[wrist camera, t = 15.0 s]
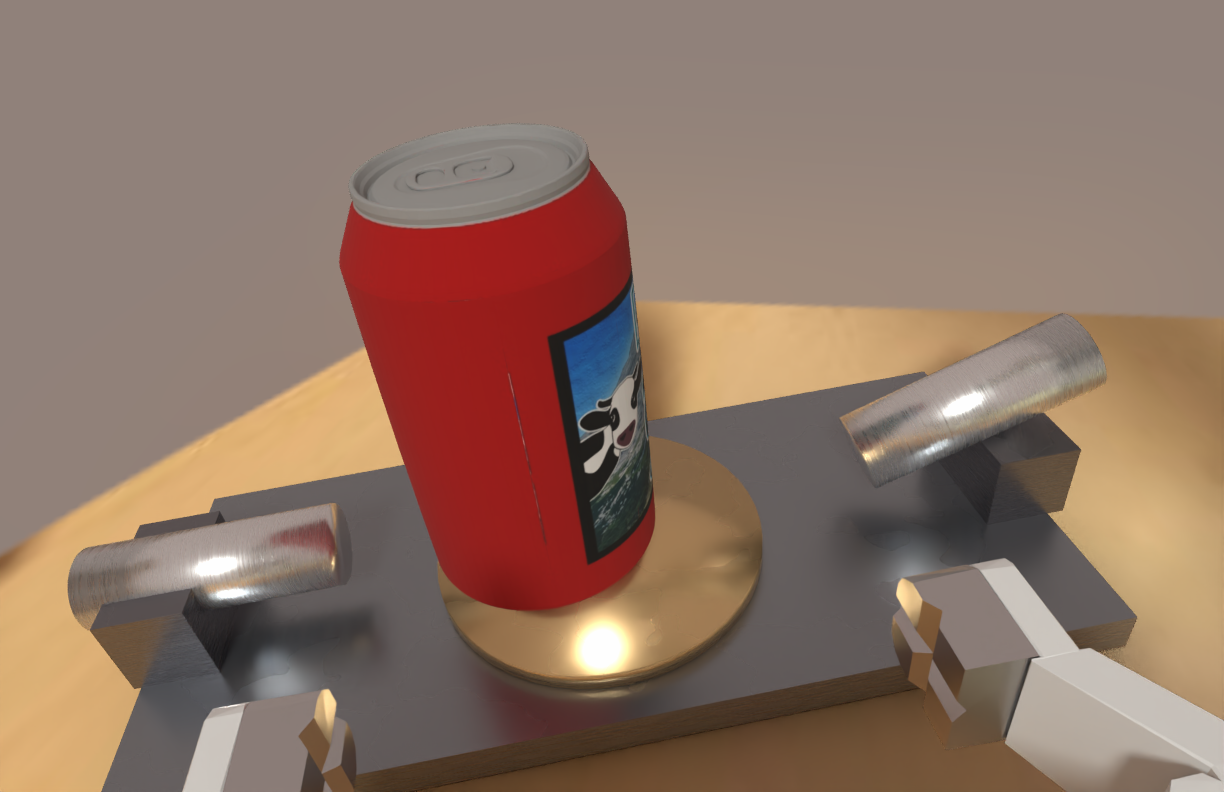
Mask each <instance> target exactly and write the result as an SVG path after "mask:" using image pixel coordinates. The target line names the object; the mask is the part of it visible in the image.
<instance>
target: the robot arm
mask: <svg viewBox="0 0 1224 792" xmlns="http://www.w3.org/2000/svg"><path fill="white" fill-rule="evenodd" d="M896 596H897V598H898V599H899V601H900V603H901V605H902V607H901V608H900V609H899V610H898V611H897V612H896V613H895V614H894V615H893V622H892V637H893V643H894V649H895V652H896V655H897V657H898V660H899V663H900V665H901V667H902V669H903V671H904V673H905V675H906V677H907V679H908V680H909V681H910V682H912V683H913V684H915V685H916V686H918V687H919V688H921V689H922V690H924V691H925V692H926V693H925V698H924V704H923V709H924V711H925V713H926V715H927V717H928V719H929V720H930V722H931V724H932V726H933V728H934V730H935V732H936V733H937V735H938V737H939V739H940V741H941V743H942V745H943V746H944V748H945V750H950V749H956V748H962V747H968V746H973V745H979V744H985V743H990V742H996V741H1002V740H1006V741H1005V744H1006V745H1008V746H1009V747H1010V748H1011V749H1013V750H1014V751H1015V752H1017V753H1018V754H1019V755H1020V756H1022V757H1023V758H1024V759H1025V760H1027V761H1028V762H1029V763H1031V764H1032V765H1033V766H1034V767H1036V768H1037V769H1038V770H1040V771H1041V772H1042V773H1043V774H1045V775H1046V776H1047V777H1048V778H1050V779H1051V780H1052V781H1054V782H1055V783H1056V784H1057V785H1059V786H1060V787H1061V788H1062V789H1064V790H1065V791H1066V792H1224V720H1222V719H1220V718H1218V717H1216V716H1215V715H1213V714H1211V713H1209V712H1207V711H1205V710H1203V709H1202V708H1200V707H1198V706H1196V705H1194V704H1192V703H1191V702H1189V701H1187V700H1185V699H1183V698H1181V697H1180V696H1178V695H1176V694H1174V693H1172V692H1170V691H1169V690H1167V689H1165V688H1163V687H1161V686H1159V685H1158V684H1156V683H1154V682H1152V681H1150V680H1148V679H1147V678H1145V677H1143V676H1141V675H1139V674H1137V673H1135V672H1134V671H1132V670H1130V669H1128V668H1126V667H1124V666H1123V665H1121V664H1119V663H1117V662H1115V661H1113V660H1112V659H1110V658H1108V657H1106V656H1104V655H1102V654H1101V653H1099V652H1097V651H1095V650H1093V649H1091V648H1085V649H1079V648H1078V647H1077V645H1076V644H1075V643H1074V641H1073V640H1072V639H1071V638H1070V636H1069V635H1068V634H1067V632H1066V631H1065V630H1064V629H1063V627H1062V626H1061V625H1060V623H1059V622H1058V621H1057V620H1056V618H1055V617H1054V616H1053V614H1052V613H1051V612H1050V611H1049V609H1048V608H1047V607H1046V605H1045V604H1044V603H1043V601H1042V600H1041V599H1040V598H1039V596H1038V595H1037V594H1036V592H1035V591H1034V590H1033V589H1032V587H1031V586H1030V585H1029V583H1028V582H1027V581H1026V580H1025V578H1024V577H1023V576H1022V574H1021V573H1020V572H1019V571H1018V569H1017V568H1016V567H1015V565H1014V564H1013V563H1012V562H1010V561H1009V560H1007V559H1005V558H1003V559H996V560H991V561H986V562H981V563H976V564H971V565H961V566H957V567H952V568H947V569H942V570H937V571H932V572H928V573H923V574H918V575H913V576H908V577H903V578H902V579H901V581H900V582H899V583H898V588H897V593H896ZM336 704H337V702H336V701H335V699H334V697H333V696H332V694H331V692H330V691H329V689H325V690H319V691H313V692H307V693H301V694H295V695H289V696H283V697H277V698H271V699H265V700H259V701H253V702H247V703H241V704H236V705H230V706H225V707H220V708H214V709H212V711H211V712H210V714H209V715H208V717H207V718H206V719H205V721H204V723H203V726H202V729H201V733H200V736H199V739H198V742H197V746H196V749H195V752H194V755H193V759H192V762H191V765H190V768H189V772H188V775H187V778H186V781H185V785H184V788H183V791H182V792H354V790H355V781H356V772H357V765H356V747H355V743H354V739H353V735H352V732H351V730H350V728H349V726H348V724H347V722H346V721H344V720H342V719H339V718H337V717H335V711H336Z"/></svg>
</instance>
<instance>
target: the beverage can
mask: <svg viewBox="0 0 1224 792" xmlns="http://www.w3.org/2000/svg"><path fill="white" fill-rule="evenodd" d="M348 187H349V192H350V196H351V199H352V203H351V206H350V210H349V215H348V219H347V223H346V228H345V232H344V237H343V241H342V246H341V251H340V261H339V263H340V269H341V272H342V275H343V279H344V282H345V285H346V288H347V291H348V294H349V297H350V300H351V304H352V307H353V310H354V313H355V316H356V319H357V322H358V325H359V328H360V331H361V334H362V338H363V341H364V344H365V347H366V350H367V353H368V356H369V360H370V363H371V366H372V369H373V372H374V375H375V378H376V381H377V384H378V387H379V390H380V393H381V396H382V399H383V402H384V405H385V408H386V411H387V414H388V417H389V420H390V423H391V426H392V429H393V432H394V435H395V438H396V441H397V444H398V447H399V450H400V452H401V455H402V458H403V461H404V464H405V467H406V470H407V473H408V476H409V479H410V482H411V484H412V487H413V490H414V493H415V496H416V499H417V502H418V505H419V508H420V511H421V513H422V516H423V519H424V522H425V525H426V527H427V530H428V533H429V536H430V539H431V541H432V544H433V547H434V550H435V553H436V556H437V558H438V561H439V564H440V566H441V568H442V570H443V572H444V573H445V575H446V576H447V578H448V579H449V580H450V581H451V582H452V584H453V585H455V586H456V587H457V588H458V589H459V590H460V591H462V592H463V593H464V594H466V595H467V596H469V597H471V598H473V599H475V600H477V601H479V602H481V603H484V604H487V605H490V606H493V607H497V608H502V609H508V610H517V611H538V610H548V609H554V608H559V607H563V606H567V605H571V604H574V603H577V602H580V601H583V600H585V599H588V598H590V597H592V596H594V595H596V594H598V593H600V592H602V591H604V590H605V589H607V588H609V587H610V586H612V585H613V584H615V583H616V582H618V581H619V580H620V579H621V578H623V577H624V576H625V575H626V574H627V573H628V572H629V571H630V570H631V569H632V568H633V567H634V566H635V565H636V564H637V563H638V561H639V560H640V559H641V557H642V556H643V554H644V553H645V551H646V549H647V547H648V545H649V543H650V540H651V538H652V535H653V531H654V527H655V503H654V491H653V479H652V467H651V455H650V444H649V433H648V422H647V412H646V401H645V390H644V379H643V370H642V360H641V350H640V341H639V331H638V322H637V312H636V302H635V293H634V284H633V275H632V266H631V258H630V248H629V240H628V231H627V222H626V215H625V211H624V208H623V207H622V204H621V203H620V201H619V200H618V198H617V197H616V195H615V194H614V192H613V191H612V189H611V188H610V187H609V185H608V184H607V182H606V181H605V180H604V178H603V177H602V175H601V174H600V172H599V171H598V170H597V168H596V167H595V165H594V164H593V163H592V161H591V160H590V159H589V152H588V147H587V144H586V142H585V141H584V139H583V138H582V137H580V136H579V135H577V134H575V133H574V132H571V131H569V130H566V129H563V128H559V127H555V126H549V125H541V124H520V123H519V124H517V123H511V124H493V125H483V126H474V127H468V128H462V129H457V130H451V131H447V132H441V133H437V134H433V135H429V136H426V137H422V138H419V139H416V140H413V141H410V142H406V143H404V144H401V145H398V146H396V147H393V148H391V149H389V150H387V151H384V152H382V153H380V154H378V155H376V156H375V157H373V158H371V159H370V160H368V161H367V162H365V163H364V164H363V165H361V166H360V167H359V168H358V169H357V170H356V171H355V172H354V173H353V175H352V176H351V178H350V180H349V186H348Z"/></svg>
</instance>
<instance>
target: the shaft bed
mask: <svg viewBox="0 0 1224 792" xmlns="http://www.w3.org/2000/svg"><path fill="white" fill-rule="evenodd" d="M1106 378H1107V374H1106V367H1105V364H1104V361H1103V358H1102V355H1101V353H1100V351H1099V349H1098V347H1097V345H1096V344H1095V342H1094V340H1093V339H1092V337H1091V336H1090V335H1089V333H1088V332H1087V331H1086V329H1085V328H1084V327H1083V326H1082V325H1081V324H1080V323H1079V322H1078V321H1077V320H1075V319H1074V318H1073V317H1071V316H1069V315H1067V314H1063V313H1062V314H1058V315H1056V316H1054V317H1052V318H1050V319H1048V320H1045V321H1043V322H1041V323H1039V324H1037V325H1035V326H1033V327H1031V328H1028V329H1026V330H1024V331H1022V332H1020V333H1018V334H1016V335H1014V336H1011V337H1009V338H1007V339H1005V340H1003V341H1001V342H999V343H997V344H994V345H992V346H990V347H988V348H986V349H984V350H982V351H980V352H977V353H975V354H973V355H971V356H969V357H967V358H965V359H963V360H960V361H958V362H956V363H954V364H952V365H950V366H948V367H946V368H943V369H941V370H939V371H937V372H935V373H933V374H931V375H929V376H927V375H926V374H925V372H919V373H914V374H908V375H903V376H897V377H891V378H886V379H880V380H875V381H869V382H864V383H858V384H852V385H847V386H841V387H836V388H830V389H825V390H819V391H814V392H808V393H802V394H797V395H791V396H786V397H780V398H775V399H769V400H763V401H758V402H752V403H747V404H741V405H736V406H730V407H724V408H719V409H713V410H708V411H702V412H697V413H691V414H685V415H680V416H674V417H669V418H663V419H658V420H652V421H647V422H648V433H649V444H650V455H651V467H652V479H653V491H654V503H655V527H654V531H653V535H652V538H651V540H650V543H649V545H648V547H647V549H646V551H645V553H644V554H643V556H642V557H641V559H640V560H639V561H638V563H637V564H636V565H635V566H634V567H633V568H632V569H631V570H630V571H629V572H628V573H627V574H626V575H625V576H624V577H623V578H621V579H620V580H619V581H618V582H616V583H615V584H613V585H612V586H610V587H609V588H607V589H605V590H604V591H602V592H600V593H598V594H596V595H594V596H592V597H590V598H588V599H585V600H583V601H580V602H577V603H574V604H571V605H567V606H563V607H559V608H554V609H548V610H538V611H517V610H508V609H502V608H497V607H493V606H490V605H487V604H484V603H481V602H479V601H477V600H475V599H473V598H471V597H469V596H467V595H466V594H464V593H463V592H462V591H460V590H459V589H458V588H457V587H456V586H455V585H453V584H452V582H451V581H450V580H449V579H448V578H447V576H446V575H445V573H444V572H443V570H442V568H441V566H440V564H439V561H438V558H437V556H436V553H435V550H434V547H433V544H432V541H431V539H430V536H429V533H428V530H427V527H426V525H425V522H424V519H423V516H422V513H421V511H420V508H419V505H418V502H417V499H416V496H415V493H414V490H413V487H412V484H411V482H410V479H409V476H408V473H407V470H406V467H405V465H401V466H396V467H390V468H385V469H379V470H374V471H368V472H362V473H357V474H351V475H346V476H340V477H335V478H329V479H324V480H318V481H312V482H307V483H301V484H296V485H290V486H285V487H279V488H273V489H268V490H262V491H257V492H251V493H246V494H240V495H234V496H229V497H223V498H218V499H214V502H213V504H212V507H211V509H210V512H209V513H205V514H200V515H194V516H189V517H183V518H178V519H172V520H167V521H161V522H156V523H150V524H144V525H140V527H139V529H138V531H137V533H136V535H135V537H134V539H132V540H126V541H121V542H115V543H109V544H104V545H98V546H93V547H88V548H85V549H83V550H82V551H81V552H80V553H79V554H78V555H77V556H76V557H75V559H74V561H73V563H72V565H71V568H70V572H69V577H68V597H69V602H70V606H71V609H72V612H73V614H74V616H75V618H76V619H77V621H78V622H79V623H80V624H81V625H82V626H83V627H84V628H85V629H87V630H90V631H91V633H92V634H93V635H94V637H95V638H96V639H97V641H98V642H99V643H100V645H101V646H102V647H103V648H104V650H105V651H106V652H107V654H108V655H109V656H110V658H111V659H112V660H113V661H114V663H115V664H116V665H117V667H118V668H119V669H120V671H121V672H122V673H123V675H124V676H125V677H126V678H127V680H128V681H129V682H130V684H131V685H132V686H133V688H134V689H136V688H141V690H140V693H139V696H138V698H137V701H136V703H135V706H134V709H133V711H132V714H131V716H130V719H129V722H128V724H127V727H126V729H125V732H124V734H123V737H122V740H121V742H120V745H119V747H118V750H117V753H116V755H115V758H114V760H113V763H112V766H111V768H110V771H109V773H108V776H107V778H106V781H105V784H104V786H103V789H102V791H101V792H182V791H183V788H184V785H185V781H186V778H187V775H188V772H189V768H190V765H191V762H192V759H193V755H194V752H195V749H196V746H197V742H198V739H199V736H200V733H201V729H202V726H203V723H204V721H205V719H206V718H207V717H208V715H209V714H210V712H211V711H212V709H214V708H220V707H225V706H230V705H236V704H241V703H247V702H253V701H259V700H265V699H271V698H277V697H283V696H289V695H295V694H301V693H307V692H313V691H319V690H325V689H329V691H330V692H331V694H332V696H333V697H334V699H335V701H336V702H337V704H336V711H335V717H337V718H339V719H342V720H344V721H346V722H347V724H348V726H349V728H350V730H351V732H352V735H353V739H354V743H355V747H356V765H357V772H356V781H355V790H354V792H411V791H416V790H421V789H426V788H431V787H436V786H441V785H446V784H451V783H455V782H460V781H465V780H470V779H475V778H480V777H485V776H490V775H495V774H500V773H504V772H509V771H514V770H519V769H524V768H529V767H534V766H539V765H544V764H549V763H553V762H558V761H563V760H568V759H573V758H578V757H583V756H588V755H593V754H598V753H602V752H607V751H612V750H617V749H622V748H627V747H632V746H637V745H642V744H647V743H652V742H656V741H661V740H666V739H671V738H676V737H681V736H686V735H691V734H696V733H701V732H705V731H710V730H715V729H720V728H725V727H730V726H735V725H740V724H745V723H750V722H754V721H759V720H764V719H769V718H774V717H779V716H784V715H789V714H794V713H799V712H803V711H808V710H813V709H818V708H823V707H828V706H833V705H838V704H843V703H848V702H852V701H857V700H862V699H867V698H872V697H877V696H882V695H887V694H892V693H897V692H901V691H906V690H911V689H916V688H919V687H918V686H916V685H915V684H913V683H912V682H910V681H909V680H908V679H907V677H906V675H905V673H904V671H903V669H902V667H901V665H900V663H899V660H898V657H897V655H896V652H895V649H894V643H893V637H892V622H893V615H894V614H895V613H896V612H897V611H898V610H899V609H900V608H901V607H902V605H901V603H900V601H899V599H898V598H897V596H896V593H897V588H898V583H899V582H900V581H901V579H902V578H903V577H908V576H913V575H918V574H923V573H928V572H932V571H937V570H942V569H947V568H952V567H957V566H961V565H971V564H976V563H981V562H986V561H991V560H996V559H1003V558H1005V559H1007V560H1009V561H1010V562H1012V563H1013V564H1014V565H1015V567H1016V568H1017V569H1018V571H1019V572H1020V573H1021V574H1022V576H1023V577H1024V578H1025V580H1026V581H1027V582H1028V583H1029V585H1030V586H1031V587H1032V589H1033V590H1034V591H1035V592H1036V594H1037V595H1038V596H1039V598H1040V599H1041V600H1042V601H1043V603H1044V604H1045V605H1046V607H1047V608H1048V609H1049V611H1050V612H1051V613H1052V614H1053V616H1054V617H1055V618H1056V620H1057V621H1058V622H1059V623H1060V625H1061V626H1062V627H1063V629H1064V630H1065V631H1066V632H1067V634H1068V635H1069V636H1070V638H1071V639H1072V640H1073V641H1074V643H1075V644H1076V645H1077V647H1078V648H1079V649H1085V648H1091V649H1093V650H1095V651H1102V650H1107V649H1112V648H1117V647H1122V646H1126V643H1127V641H1128V638H1129V636H1130V634H1131V631H1132V629H1133V627H1134V624H1135V622H1136V619H1137V616H1136V615H1135V614H1134V613H1133V611H1132V610H1131V609H1130V608H1129V607H1128V606H1127V605H1126V603H1125V602H1124V601H1123V600H1122V599H1121V598H1120V596H1119V595H1118V594H1117V593H1116V592H1115V591H1114V590H1113V588H1112V587H1111V586H1110V585H1109V584H1108V583H1107V582H1106V580H1105V579H1104V578H1103V577H1102V576H1101V575H1100V574H1099V572H1098V571H1097V570H1096V569H1095V568H1094V567H1093V565H1092V564H1091V563H1090V562H1089V561H1088V560H1087V559H1086V557H1085V556H1084V555H1083V554H1082V553H1081V552H1080V551H1079V549H1078V548H1077V547H1076V546H1075V545H1074V544H1073V542H1072V541H1071V540H1070V539H1069V538H1068V537H1067V536H1066V534H1065V533H1064V532H1063V531H1062V530H1061V529H1060V528H1059V526H1058V525H1057V524H1056V523H1055V522H1054V521H1053V520H1052V518H1051V517H1050V516H1049V515H1048V514H1047V513H1051V512H1056V511H1062V510H1063V508H1064V504H1065V501H1066V498H1067V494H1068V491H1069V488H1070V485H1071V481H1072V478H1073V475H1074V471H1075V468H1076V465H1077V461H1078V458H1079V455H1080V451H1081V449H1080V448H1079V447H1078V446H1077V445H1076V444H1075V443H1074V442H1073V441H1072V440H1071V439H1070V438H1069V437H1068V436H1067V435H1066V434H1065V433H1064V432H1063V431H1062V430H1061V429H1060V428H1059V427H1058V426H1057V425H1056V424H1055V423H1054V422H1053V421H1052V420H1051V419H1050V418H1049V417H1047V416H1046V415H1045V414H1044V412H1046V411H1048V410H1051V409H1053V408H1055V407H1057V406H1059V405H1062V404H1064V403H1066V402H1068V401H1070V400H1073V399H1075V398H1077V397H1079V396H1081V395H1084V394H1086V393H1088V392H1090V391H1092V390H1095V389H1097V388H1099V387H1101V386H1103V385H1104V384H1105V382H1106Z"/></svg>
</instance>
